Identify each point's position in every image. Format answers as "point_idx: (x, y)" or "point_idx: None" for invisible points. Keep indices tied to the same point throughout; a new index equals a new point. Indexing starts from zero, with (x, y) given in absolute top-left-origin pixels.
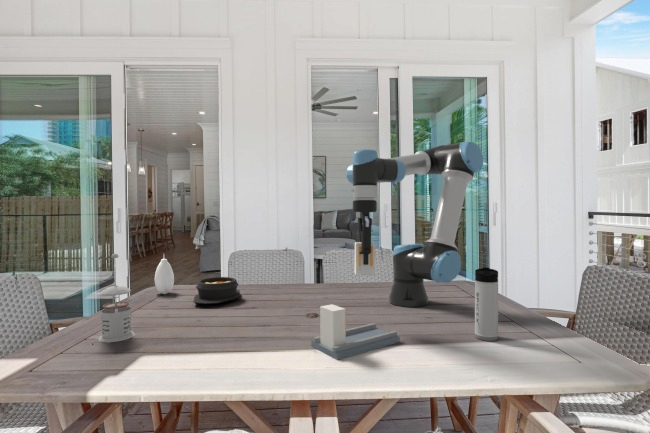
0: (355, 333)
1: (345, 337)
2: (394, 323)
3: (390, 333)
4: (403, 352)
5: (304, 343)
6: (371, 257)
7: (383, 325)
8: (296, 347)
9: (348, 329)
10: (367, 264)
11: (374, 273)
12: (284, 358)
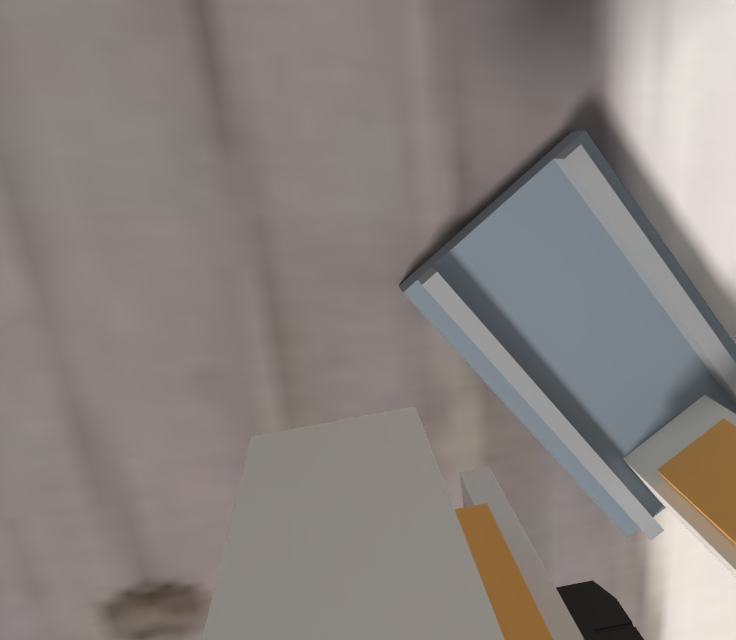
0: (533, 368)
1: (733, 413)
2: (230, 145)
3: (610, 186)
4: (713, 121)
5: (582, 552)
6: (539, 635)
7: (284, 218)
8: (625, 568)
9: (542, 410)
10: (596, 593)
11: (420, 423)
12: (729, 577)
